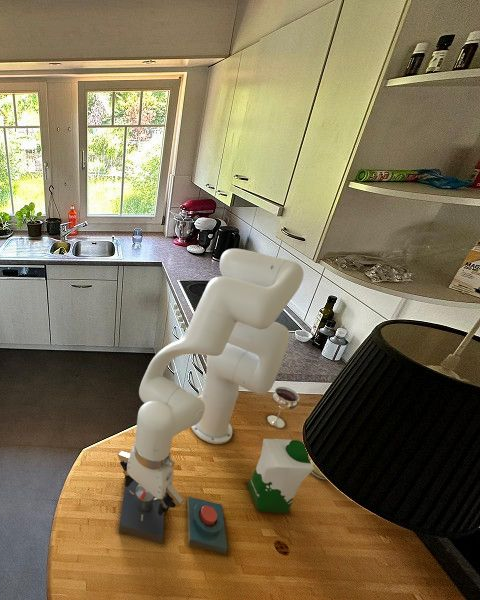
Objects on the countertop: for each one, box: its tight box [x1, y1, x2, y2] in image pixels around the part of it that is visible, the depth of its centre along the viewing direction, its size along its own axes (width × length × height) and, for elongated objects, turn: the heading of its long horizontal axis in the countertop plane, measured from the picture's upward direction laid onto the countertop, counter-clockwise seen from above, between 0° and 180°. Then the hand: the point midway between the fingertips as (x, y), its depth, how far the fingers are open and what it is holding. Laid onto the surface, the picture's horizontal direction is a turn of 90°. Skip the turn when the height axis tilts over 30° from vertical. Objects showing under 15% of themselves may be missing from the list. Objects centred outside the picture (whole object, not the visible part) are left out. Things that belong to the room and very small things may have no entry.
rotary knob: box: [134, 484, 154, 512], centre depth 78 cm, size 4×4×5 cm
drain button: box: [200, 506, 217, 526], centre depth 76 cm, size 4×4×2 cm
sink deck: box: [118, 480, 165, 544], centre depth 80 cm, size 13×10×3 cm
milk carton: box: [247, 438, 314, 514], centre depth 79 cm, size 9×9×20 cm
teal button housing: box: [186, 496, 228, 555], centre depth 77 cm, size 10×8×4 cm
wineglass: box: [267, 386, 300, 428], centre depth 103 cm, size 7×7×12 cm
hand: (145, 496), depth 79 cm, fingers open, 9 cm apart
